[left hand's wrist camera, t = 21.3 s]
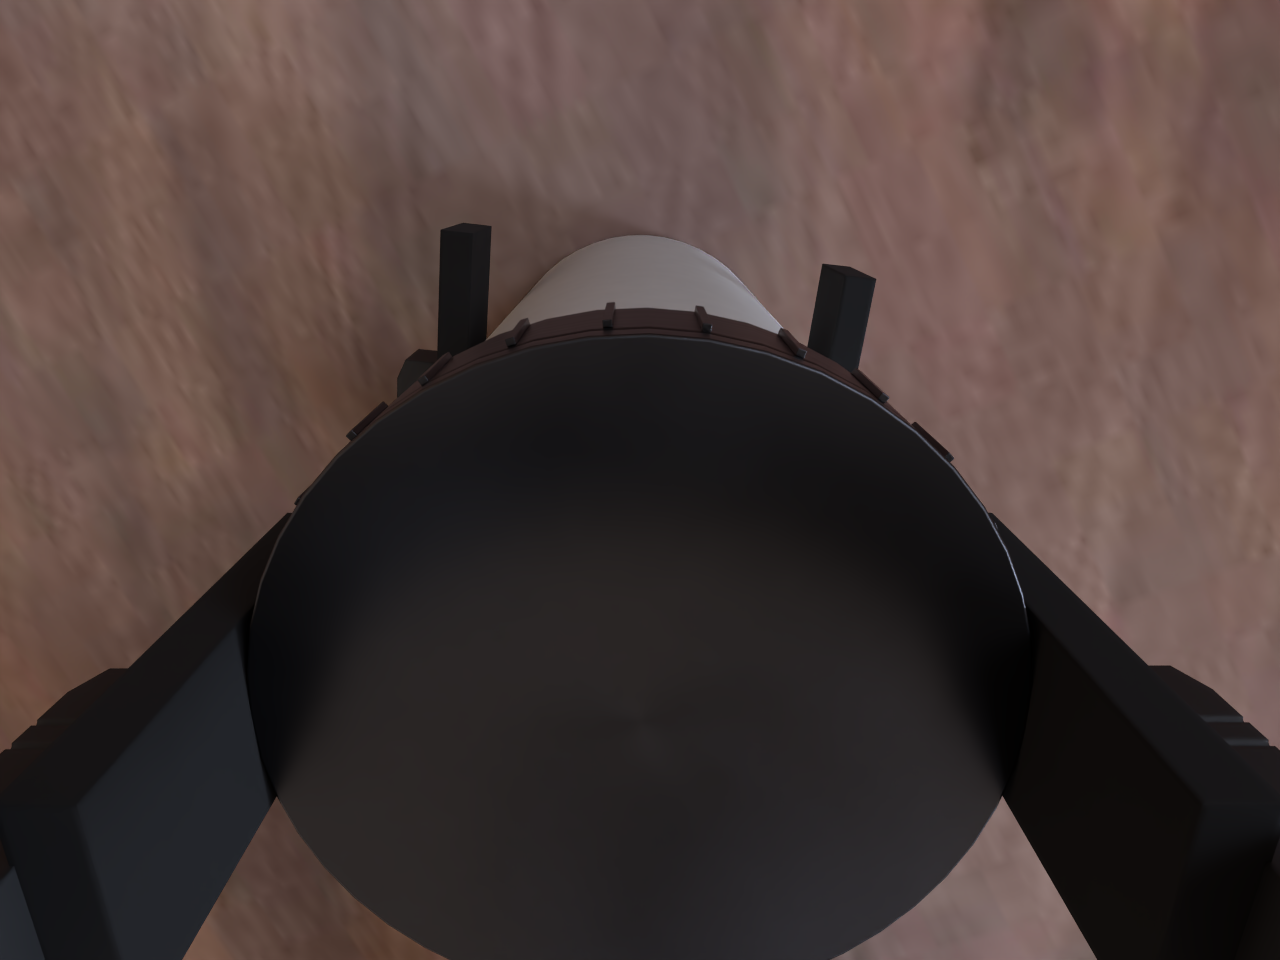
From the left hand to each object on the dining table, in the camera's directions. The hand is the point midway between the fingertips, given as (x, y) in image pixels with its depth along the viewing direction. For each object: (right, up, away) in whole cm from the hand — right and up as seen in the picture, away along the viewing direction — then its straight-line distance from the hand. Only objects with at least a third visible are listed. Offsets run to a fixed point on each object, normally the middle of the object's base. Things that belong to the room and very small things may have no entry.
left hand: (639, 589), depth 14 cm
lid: (0, -1, -3) cm, 3 cm away
